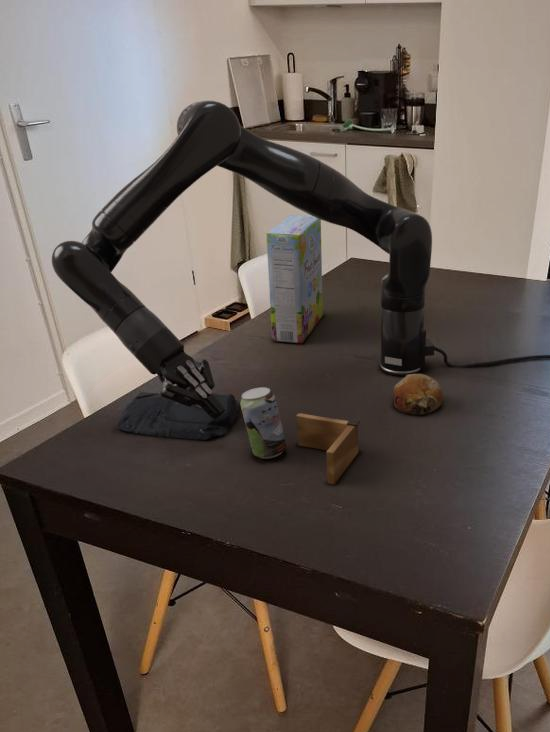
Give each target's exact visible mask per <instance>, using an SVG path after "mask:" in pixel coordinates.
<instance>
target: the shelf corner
mask: <svg viewBox="0 0 550 732" xmlns="http://www.w3.org/2000/svg"><path fill="white" fill-rule="evenodd" d="M295 417H296V418H295V419H296V430H297V445H298V446H300V447H305V448H310V449H317V450H322V451H326V452H325V454H326V472H327V484H331V485H335V484H336V483H337V481H338V480H339V479H340V477H341V476H342V475H343V474H344V472H345V471H346V470H347V468H348V467H349V466H350V464H351V463H352V462H353V460H354V459H355V458H356V456H357V455H358V454H359V424H360V423H361V420H360V419H354V418H350V419H349V420H344V419H338V418H331V417H325V416H319V415H318V416H317V415H312V414H306V413H300V412H299V413H297V414H296V416H295Z"/></svg>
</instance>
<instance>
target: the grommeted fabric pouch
mask: <svg viewBox="0 0 550 732" xmlns="http://www.w3.org/2000/svg"><path fill="white" fill-rule="evenodd" d="M212 395H213V396H214V397H215V398H216V399H217V400H218V401H219V402H220V403H221V404H222V405H223V407H224V409H225V412H224V413H223V414H222V415H221V416H219V417H218V418H217V419H213V418H212V417H210V416H209V415H208V413H206V412H205V411H204V410H203V408H202V407H201V406H199V405H196V404H195V405H192V406H191V407H189V406H186V405H183V404H181V403H178V402H175V401H172V400H170V399H167V398H164V397H162V396H161V395H160V393H158V392H146V391H145V392H144V391H143V392H139V394H137V395H136V396H135V397H133V399H132V400H131V401H130V402H129V403H127V405H126V406H125V408H124V409H123V410H122V411H121V414H120V416H119V417H118V419H117V420H116V423H115V424H116V425H115V427H114V428H115V429H116V430H119V431H122V432H127V433H130V434H135V435H145V436H149V437H150V436H151V437H152V436H155V437H161V438H162V437H163V438H164V437H165V438H172V439H176V438H177V439H185V440H195V441H196V440H197V441H198V440H201V441H206V440H210V439H212V438H213V437H215V438H216V437H220V438H222V437H223V436H224V435H225V434H226V433H227V432H228V431H229V430H228V429H229V427H230V426H232V425H233V424H234V422H235V420H236V419H237V417H238V413H239V409H240V408H239V407H240V402H239V401H238V400H237V399H236V397H235V396H234V395H233V394H232V393H230V394H219V393H212ZM184 398H187V397H184ZM187 399H189V398H187Z"/></svg>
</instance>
